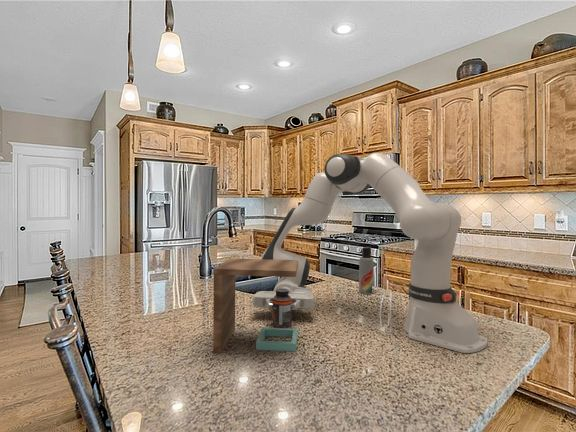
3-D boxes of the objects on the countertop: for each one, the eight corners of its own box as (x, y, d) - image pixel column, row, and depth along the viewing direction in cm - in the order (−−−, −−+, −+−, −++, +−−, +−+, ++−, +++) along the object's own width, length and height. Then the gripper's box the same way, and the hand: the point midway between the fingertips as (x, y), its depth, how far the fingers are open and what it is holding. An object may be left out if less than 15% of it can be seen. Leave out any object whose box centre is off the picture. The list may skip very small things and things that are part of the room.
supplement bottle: (269, 323, 108) (270, 287, 107) (287, 321, 110) (287, 286, 109) (275, 329, 102) (276, 292, 101) (294, 327, 104) (294, 291, 104)
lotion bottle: (372, 294, 143) (373, 247, 142) (358, 294, 144) (359, 247, 143) (372, 291, 148) (373, 246, 147) (358, 290, 149) (359, 245, 148)
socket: (297, 335, 98) (297, 328, 98) (295, 351, 87) (296, 343, 87) (261, 334, 98) (261, 327, 98) (256, 349, 88) (256, 342, 88)
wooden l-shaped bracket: (297, 331, 100) (298, 260, 100) (294, 356, 84) (295, 271, 84) (228, 329, 102) (229, 258, 101) (213, 352, 86) (213, 268, 85)
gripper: (255, 285, 119) (248, 296, 105) (314, 286, 118) (314, 298, 104) (255, 302, 119) (248, 315, 105) (313, 304, 118) (314, 318, 104)
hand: (281, 307), depth 105 cm, fingers closed on supplement bottle, 6 cm apart
